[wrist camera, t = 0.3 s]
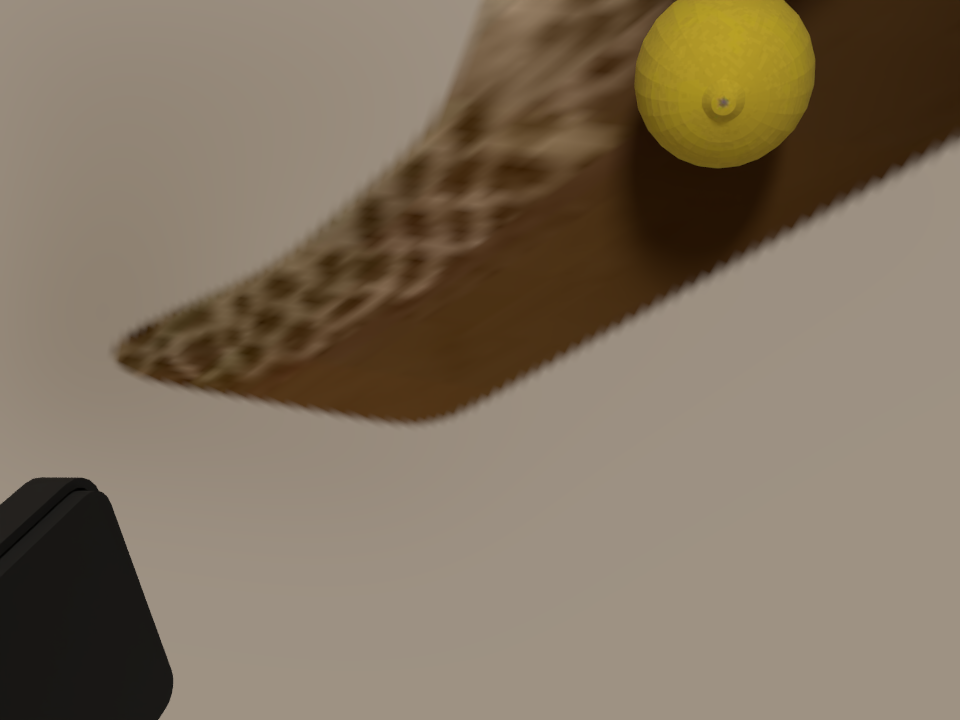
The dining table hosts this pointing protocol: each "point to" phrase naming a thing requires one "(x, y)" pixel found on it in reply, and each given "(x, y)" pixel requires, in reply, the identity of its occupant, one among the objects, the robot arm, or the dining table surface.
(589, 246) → the dining table surface
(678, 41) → the lemon
